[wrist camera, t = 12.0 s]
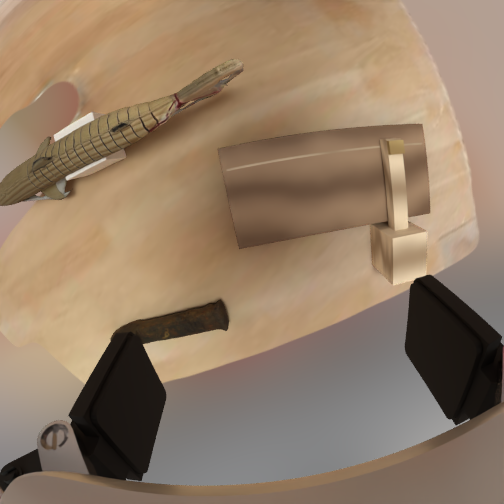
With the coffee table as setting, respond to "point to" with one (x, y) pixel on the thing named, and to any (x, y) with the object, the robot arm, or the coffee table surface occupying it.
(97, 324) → the coffee table surface
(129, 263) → the coffee table surface
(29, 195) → the wood carving
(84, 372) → the coffee table surface
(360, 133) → the board
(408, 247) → the beige block with stick
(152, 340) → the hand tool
